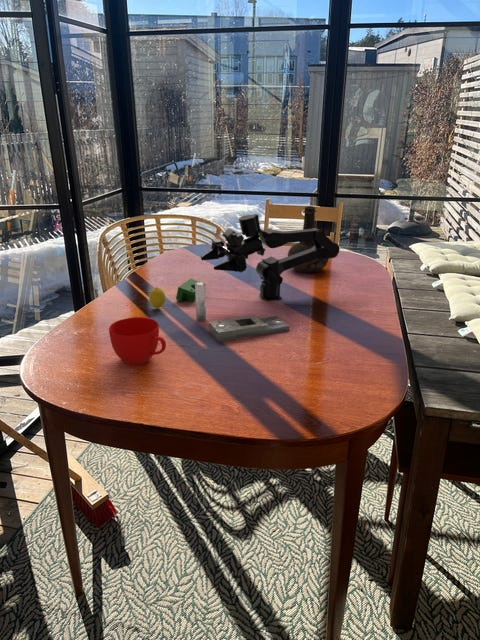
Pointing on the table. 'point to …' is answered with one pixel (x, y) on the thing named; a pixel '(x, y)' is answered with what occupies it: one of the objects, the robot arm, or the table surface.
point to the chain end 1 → (234, 327)
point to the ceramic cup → (136, 339)
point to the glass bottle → (308, 245)
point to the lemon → (157, 298)
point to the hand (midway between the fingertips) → (207, 263)
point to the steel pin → (200, 301)
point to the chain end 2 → (272, 326)
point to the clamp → (187, 290)
